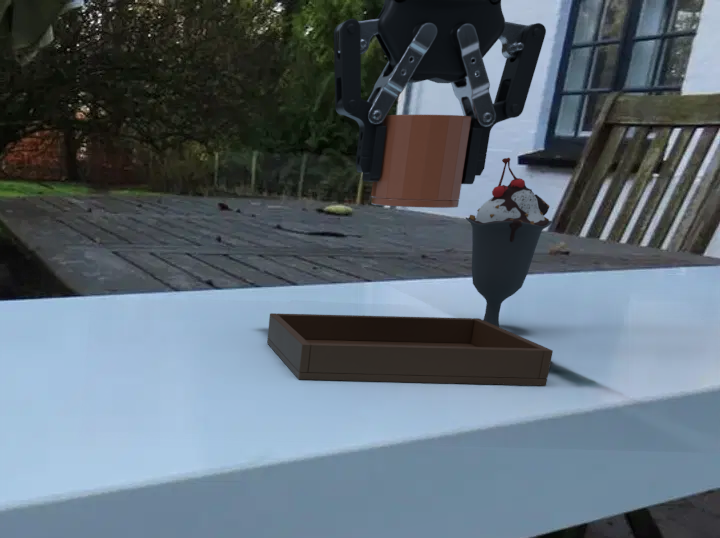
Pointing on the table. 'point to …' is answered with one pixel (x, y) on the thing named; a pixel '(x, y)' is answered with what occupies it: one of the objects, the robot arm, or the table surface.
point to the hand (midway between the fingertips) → (417, 181)
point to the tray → (406, 350)
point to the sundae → (505, 241)
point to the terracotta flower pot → (422, 161)
